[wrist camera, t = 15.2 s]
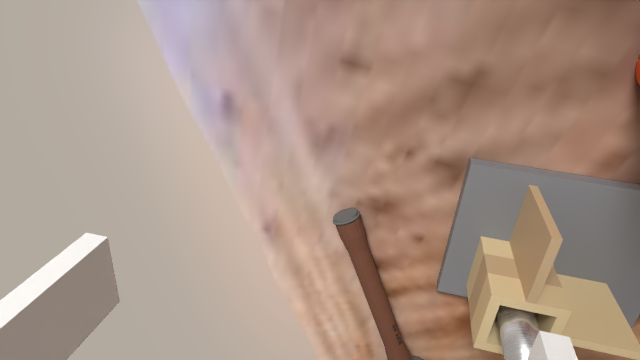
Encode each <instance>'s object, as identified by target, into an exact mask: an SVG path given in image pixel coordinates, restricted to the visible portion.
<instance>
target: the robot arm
mask: <svg viewBox="0 0 640 360" xmlns="http://www.w3.org/2000/svg"><path fill="white" fill-rule="evenodd" d="M118 303H119V296H118V290H117V285H116V280H115V274H114V269H113V264H112V258H111V253H110V248H109V243H108V238H107V237H104V236H99V235H94V234H89V233H86V234H84V235H83V236H82V237H80V238H79V239H78V240H77V241H75V242H74V243H73V244H72V245H70V246H69V247H68V248H66V249H65V250H64V251H63V252H61V253H60V254H59V255H58V256H56V257H55V258H54V259H52V260H51V261H50V262H49V263H47V264H46V265H45V266H44V267H42V268H41V269H40V270H38V271H37V272H36V273H35V274H33V275H32V276H31V277H30V278H28V279H27V280H26V281H25V282H23V283H22V284H21V285H19V286H18V287H17V288H16V289H15V290H13V291H12V292H10V293H9V294H8V295H7V296H5V297H4V298H3V299H2V300H0V360H67V359H68V357H69V356H70V355H71V354H72V353H73V352H74V351H75V350H76V349H77V348H78V347H79V346H80V344H81V343H82V342H83V341H84V340H85V339H86V338H87V337H88V336H89V335H90V333H91V332H92V331H93V330H94V329H95V328H96V327H97V326H98V325H99V324H100V323H101V322H102V320H103V319H104V318H105V317H106V316H107V315H108V314H109V313H110V312H111V311H112V310H113V308H114V307H115V306H116V305H117V304H118ZM527 360H578V359H577V356H576V353H575V351H574V348H573V345H572V342H571V340H570V337H567V336H562V335H558V334H553V333H548V332H544V331H539V332H538V335H537V337H536V339H535V342H534V344H533V346H532V348H531V351H530V353H529V355H528V358H527Z"/></svg>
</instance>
